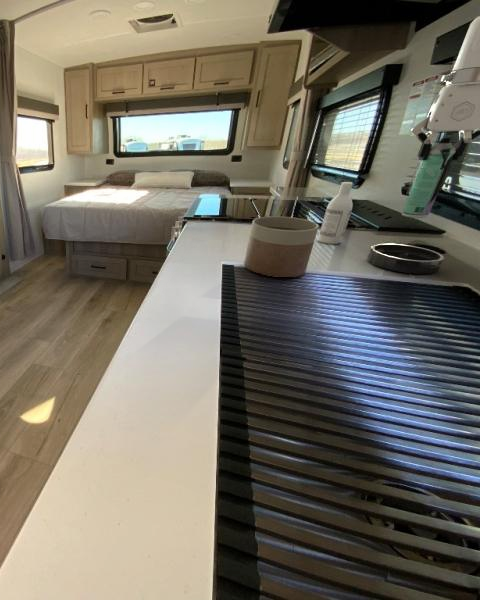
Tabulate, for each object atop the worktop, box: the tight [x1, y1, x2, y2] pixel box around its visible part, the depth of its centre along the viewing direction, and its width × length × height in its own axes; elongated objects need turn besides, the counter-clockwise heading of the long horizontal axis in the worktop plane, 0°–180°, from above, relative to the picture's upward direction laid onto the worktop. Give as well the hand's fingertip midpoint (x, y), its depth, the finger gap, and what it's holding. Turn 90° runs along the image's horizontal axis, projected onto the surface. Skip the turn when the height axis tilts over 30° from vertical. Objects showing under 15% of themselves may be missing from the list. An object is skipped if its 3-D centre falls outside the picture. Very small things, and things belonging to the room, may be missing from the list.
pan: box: [366, 243, 445, 275], centre depth 96 cm, size 15×15×4 cm
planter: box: [243, 215, 319, 278], centre depth 94 cm, size 16×16×14 cm
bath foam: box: [317, 181, 354, 245], centre depth 113 cm, size 7×7×20 cm
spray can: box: [401, 137, 456, 219], centre depth 89 cm, size 6×6×20 cm
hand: (437, 159), depth 87 cm, fingers closed on spray can, 5 cm apart
